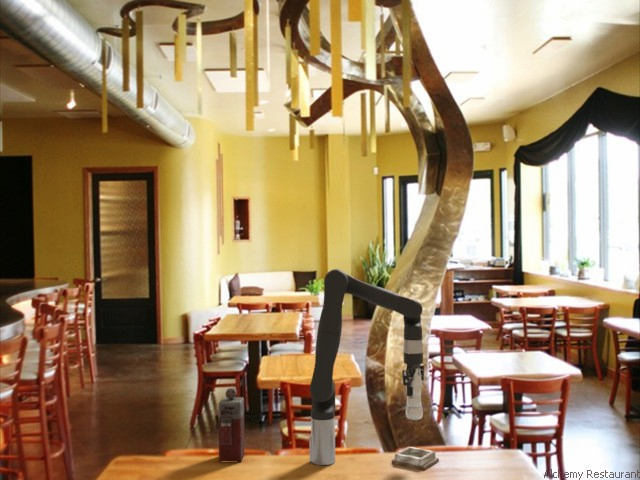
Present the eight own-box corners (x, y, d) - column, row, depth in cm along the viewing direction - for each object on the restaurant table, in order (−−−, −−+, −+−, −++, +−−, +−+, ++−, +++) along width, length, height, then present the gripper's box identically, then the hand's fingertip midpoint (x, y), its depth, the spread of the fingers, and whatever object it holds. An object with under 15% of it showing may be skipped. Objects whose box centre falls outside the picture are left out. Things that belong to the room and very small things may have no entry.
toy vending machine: (217, 464, 245) (216, 391, 246) (222, 455, 257) (221, 385, 257) (240, 464, 245) (239, 391, 246) (244, 454, 256) (243, 385, 257)
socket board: (391, 463, 243) (391, 453, 244) (406, 455, 253) (406, 445, 253) (424, 470, 235) (424, 460, 235) (438, 461, 245) (438, 451, 245)
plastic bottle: (422, 422, 241) (422, 369, 241) (404, 421, 242) (404, 368, 242) (423, 417, 247) (422, 366, 247) (406, 416, 248) (405, 365, 249)
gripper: (413, 347, 253) (413, 390, 253) (395, 352, 241) (396, 397, 241) (430, 349, 248) (431, 392, 248) (413, 354, 237) (413, 399, 237)
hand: (413, 394), depth 245 cm, fingers closed on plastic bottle, 6 cm apart
